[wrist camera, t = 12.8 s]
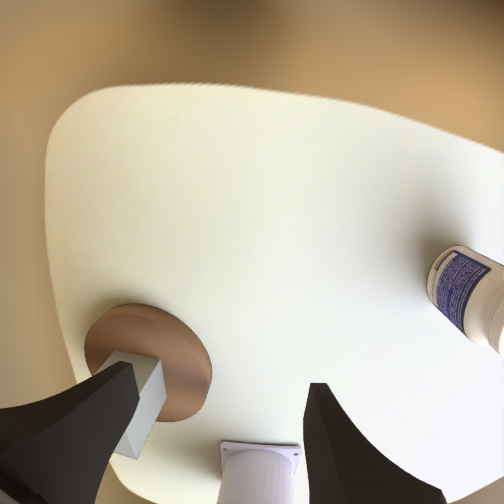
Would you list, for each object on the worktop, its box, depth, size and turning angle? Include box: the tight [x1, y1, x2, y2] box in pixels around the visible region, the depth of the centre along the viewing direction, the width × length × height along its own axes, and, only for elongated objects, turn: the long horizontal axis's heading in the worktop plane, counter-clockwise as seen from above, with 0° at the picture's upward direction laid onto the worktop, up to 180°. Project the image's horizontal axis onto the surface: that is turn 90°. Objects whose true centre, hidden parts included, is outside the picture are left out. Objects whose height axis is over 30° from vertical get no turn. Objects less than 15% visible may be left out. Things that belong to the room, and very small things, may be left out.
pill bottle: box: [427, 246, 504, 358], centre depth 15 cm, size 5×5×9 cm
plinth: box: [84, 304, 212, 422], centre depth 22 cm, size 11×11×2 cm
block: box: [94, 350, 167, 459], centre depth 18 cm, size 4×4×7 cm
